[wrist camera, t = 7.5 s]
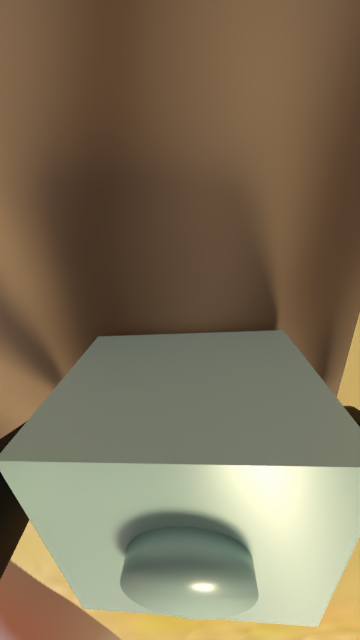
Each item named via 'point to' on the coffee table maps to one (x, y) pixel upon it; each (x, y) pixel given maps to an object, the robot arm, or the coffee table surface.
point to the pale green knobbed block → (193, 478)
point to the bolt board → (175, 179)
